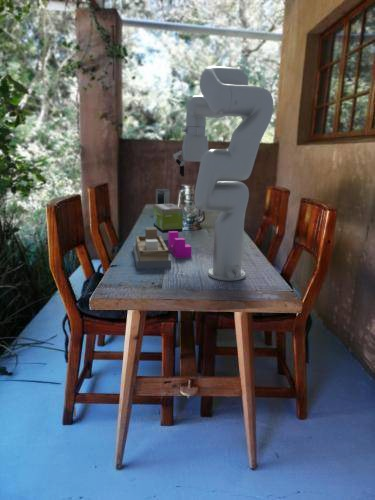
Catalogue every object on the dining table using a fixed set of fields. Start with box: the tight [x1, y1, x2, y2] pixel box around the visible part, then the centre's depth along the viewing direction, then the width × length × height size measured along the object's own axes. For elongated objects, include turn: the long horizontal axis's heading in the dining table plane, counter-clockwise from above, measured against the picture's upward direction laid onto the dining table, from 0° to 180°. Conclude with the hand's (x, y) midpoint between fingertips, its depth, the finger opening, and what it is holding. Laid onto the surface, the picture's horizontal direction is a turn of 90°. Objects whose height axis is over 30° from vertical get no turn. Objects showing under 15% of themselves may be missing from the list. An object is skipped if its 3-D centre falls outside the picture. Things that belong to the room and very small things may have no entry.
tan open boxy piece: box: [135, 226, 170, 261], centre depth 151 cm, size 24×10×9 cm, turn 11°
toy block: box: [167, 231, 192, 259], centre depth 163 cm, size 15×6×8 cm, turn 14°
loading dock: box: [132, 242, 172, 270], centre depth 153 cm, size 26×12×3 cm, turn 11°
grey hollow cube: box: [155, 188, 171, 204], centre depth 251 cm, size 14×16×15 cm
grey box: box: [145, 239, 158, 251], centre depth 145 cm, size 4×4×4 cm
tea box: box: [152, 203, 184, 242], centre depth 189 cm, size 15×10×15 cm, turn 21°
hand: (194, 176), depth 161 cm, fingers open, 9 cm apart
